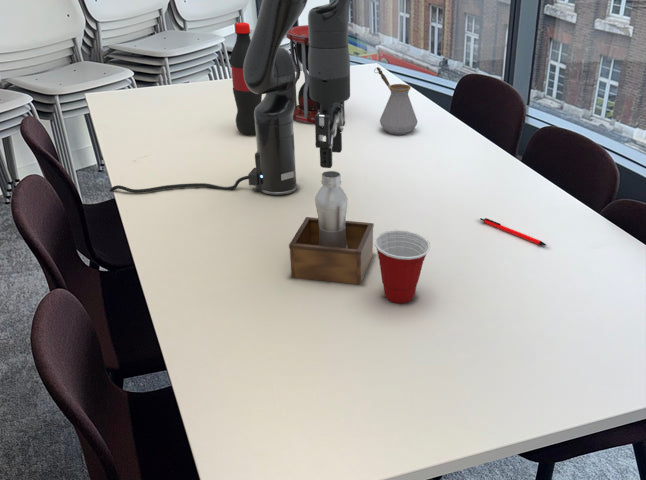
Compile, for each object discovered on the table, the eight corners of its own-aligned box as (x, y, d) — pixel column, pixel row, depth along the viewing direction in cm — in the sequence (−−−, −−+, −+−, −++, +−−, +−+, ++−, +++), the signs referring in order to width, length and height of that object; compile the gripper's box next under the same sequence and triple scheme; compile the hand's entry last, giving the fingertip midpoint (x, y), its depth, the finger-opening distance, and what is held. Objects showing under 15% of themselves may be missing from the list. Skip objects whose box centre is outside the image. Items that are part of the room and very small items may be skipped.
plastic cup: (409, 316, 146) (412, 260, 138) (362, 300, 150) (363, 244, 143) (437, 293, 153) (441, 238, 146) (391, 278, 158) (393, 224, 150)
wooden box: (290, 277, 157) (288, 244, 152) (307, 248, 168) (306, 216, 163) (361, 284, 155) (361, 251, 151) (373, 254, 166) (373, 223, 161)
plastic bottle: (345, 274, 158) (344, 182, 146) (313, 270, 159) (310, 178, 147) (352, 260, 163) (351, 170, 151) (321, 257, 164) (319, 166, 152)
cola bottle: (270, 130, 230) (262, 21, 212) (257, 138, 224) (248, 27, 205) (244, 126, 232) (235, 18, 214) (231, 134, 226) (220, 24, 207)
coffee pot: (423, 134, 230) (426, 82, 221) (389, 139, 226) (391, 86, 217) (392, 113, 245) (393, 64, 236) (359, 118, 241) (359, 68, 232)
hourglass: (281, 119, 238) (276, 33, 222) (303, 105, 250) (300, 22, 235) (328, 126, 234) (327, 38, 218) (348, 112, 246) (348, 27, 230)
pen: (481, 220, 181) (482, 215, 181) (547, 246, 171) (548, 242, 170) (479, 221, 181) (479, 216, 180) (545, 247, 170) (545, 243, 170)
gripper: (318, 60, 144) (321, 145, 154) (299, 80, 133) (303, 171, 142) (357, 62, 143) (357, 148, 153) (341, 83, 132) (342, 174, 141)
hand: (331, 159), depth 148 cm, fingers open, 8 cm apart
